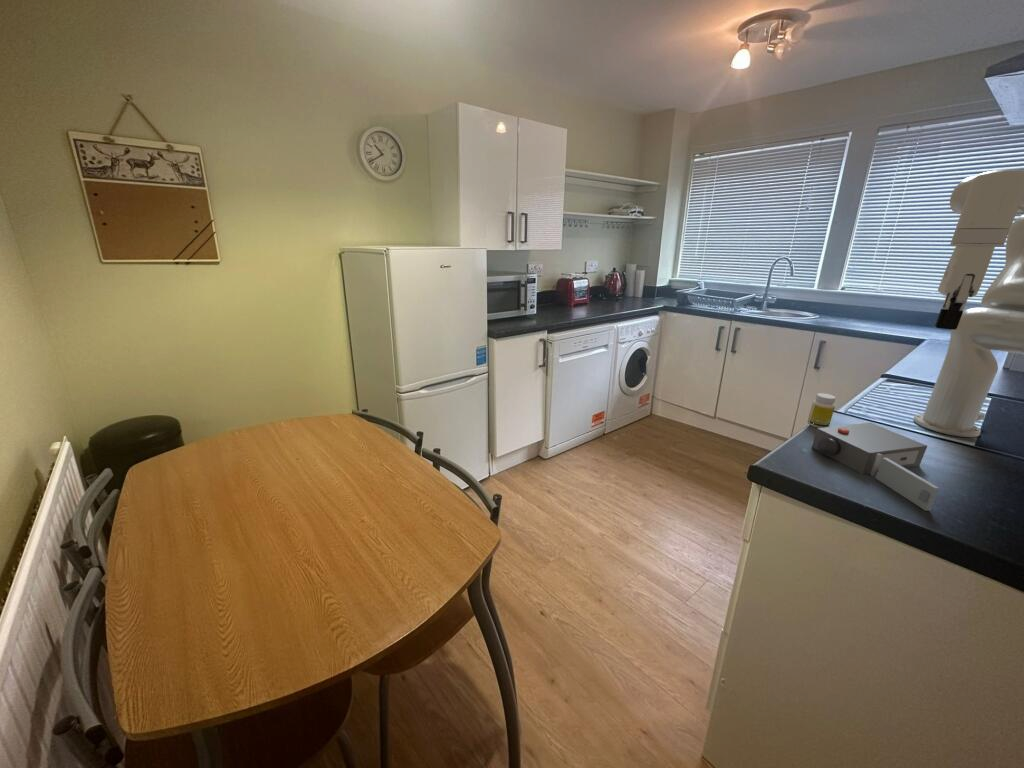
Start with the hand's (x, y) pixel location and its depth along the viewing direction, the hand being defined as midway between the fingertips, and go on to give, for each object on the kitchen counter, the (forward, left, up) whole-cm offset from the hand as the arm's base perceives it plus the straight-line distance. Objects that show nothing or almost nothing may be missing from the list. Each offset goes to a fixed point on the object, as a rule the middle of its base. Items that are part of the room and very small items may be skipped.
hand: (945, 328), depth 90 cm
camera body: (+15, +3, -29) cm, 33 cm away
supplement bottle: (+9, -14, -29) cm, 34 cm away
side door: (+22, +15, -29) cm, 39 cm away
